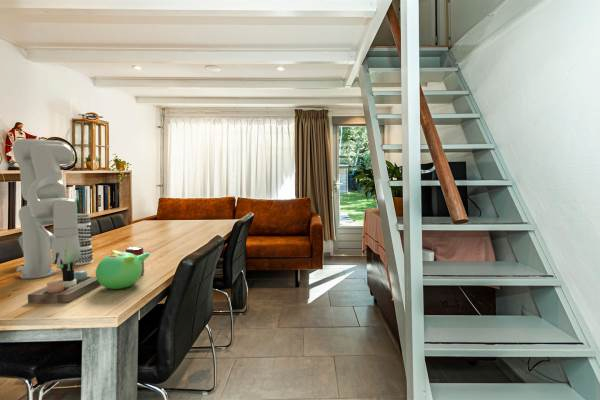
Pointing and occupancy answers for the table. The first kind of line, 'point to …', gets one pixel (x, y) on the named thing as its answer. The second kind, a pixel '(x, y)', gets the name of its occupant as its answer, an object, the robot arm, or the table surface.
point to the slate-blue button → (80, 275)
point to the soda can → (136, 252)
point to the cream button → (70, 283)
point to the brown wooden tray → (64, 292)
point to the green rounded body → (120, 269)
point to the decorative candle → (84, 239)
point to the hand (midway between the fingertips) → (68, 280)
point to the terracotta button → (55, 287)
